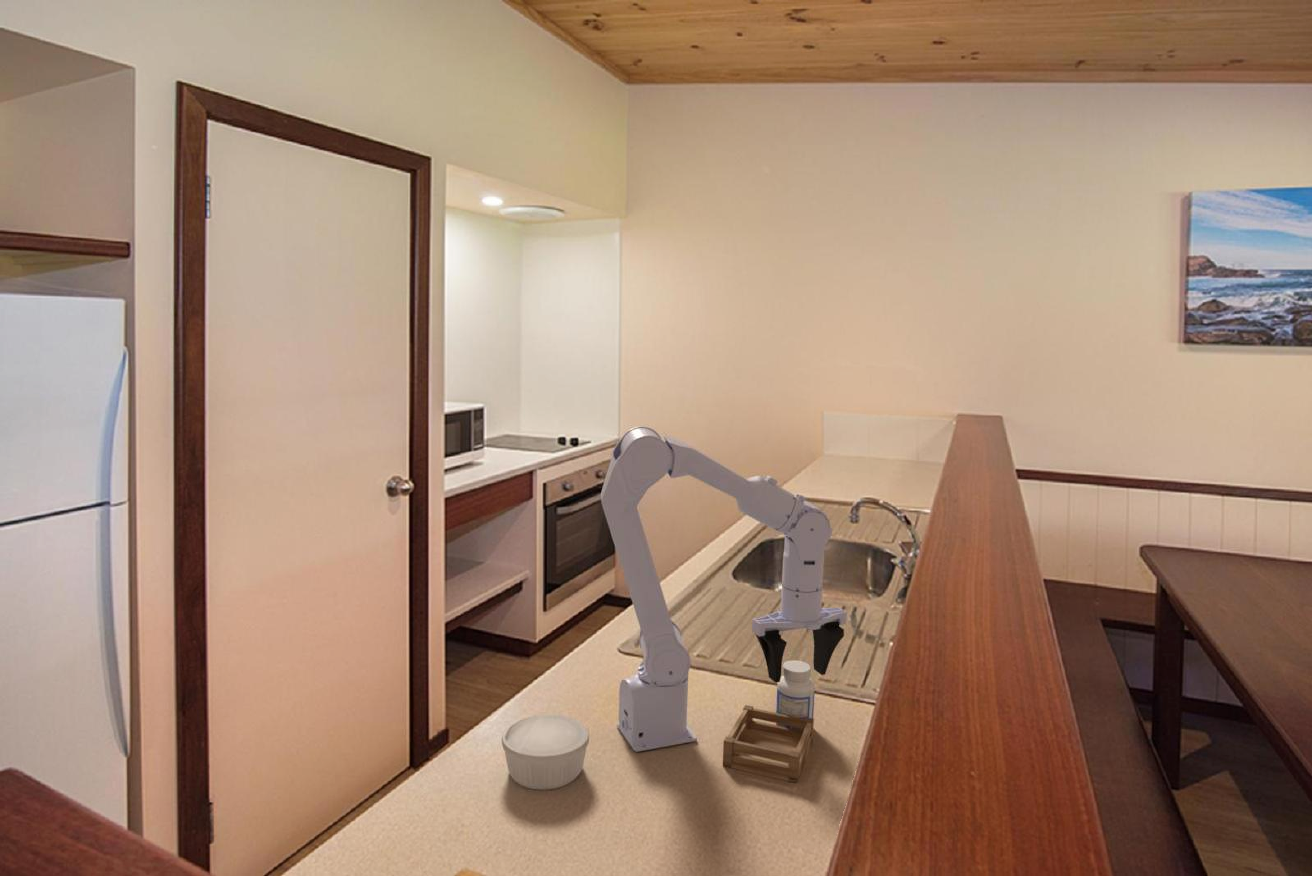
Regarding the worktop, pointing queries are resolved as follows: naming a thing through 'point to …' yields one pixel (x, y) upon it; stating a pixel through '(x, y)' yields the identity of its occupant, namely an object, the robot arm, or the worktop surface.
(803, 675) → the pill bottle
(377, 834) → the worktop surface
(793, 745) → the crate
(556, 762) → the ramekin
